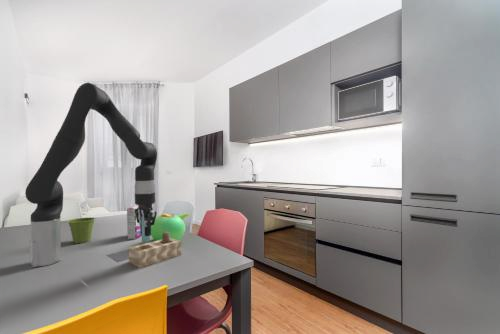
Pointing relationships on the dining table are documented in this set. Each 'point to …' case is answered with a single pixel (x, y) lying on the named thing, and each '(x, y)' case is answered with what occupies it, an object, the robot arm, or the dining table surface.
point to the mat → (119, 255)
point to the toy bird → (168, 226)
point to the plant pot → (81, 229)
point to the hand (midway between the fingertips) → (145, 234)
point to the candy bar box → (132, 223)
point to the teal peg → (144, 238)
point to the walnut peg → (165, 237)
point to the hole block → (154, 252)
